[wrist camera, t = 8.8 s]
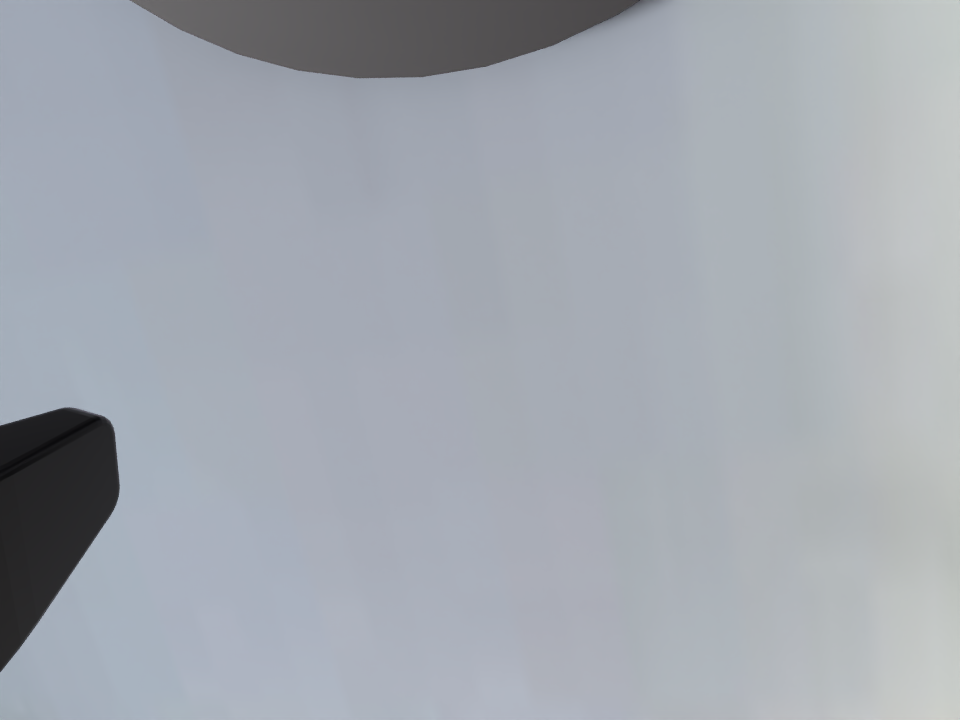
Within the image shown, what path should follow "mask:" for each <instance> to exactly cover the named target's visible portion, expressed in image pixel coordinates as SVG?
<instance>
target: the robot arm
mask: <svg viewBox="0 0 960 720" xmlns="http://www.w3.org/2000/svg"><path fill="white" fill-rule="evenodd" d="M119 489H120V484H119V473H118V463H117V452H116V442H115V432H114V428H113V426H112V424H111V422H110V421H109V420H108V419H107V418H105V417H104V416H101V415H97V414H94V413H90V412H87V411H84V410H80V409H77V408H70V407H69V408H61V409H57V410H54V411H50V412H47V413H43V414H40V415H36V416H33V417H29V418H26V419H22V420H19V421H15V422H11V423H8V424H4V425H1V426H0V672H1V671H2V670H3V668H4V667H5V666H6V665H7V663H8V662H9V661H10V660H11V658H12V657H13V656H14V654H15V653H16V652H17V651H18V649H19V648H20V647H21V646H22V644H23V643H24V642H25V640H26V639H27V637H28V636H29V635H30V633H31V632H32V630H33V629H34V628H35V626H36V625H37V624H38V622H39V621H40V619H41V618H42V616H43V615H44V613H45V612H46V610H47V609H48V607H49V606H50V604H51V603H52V601H53V600H54V598H55V597H56V595H57V594H58V592H59V591H60V590H61V588H62V587H63V585H64V584H65V582H66V581H67V579H68V578H69V576H70V575H71V573H72V572H73V570H74V569H75V567H76V566H77V564H78V563H79V561H80V560H81V558H82V557H83V555H84V554H85V552H86V551H87V550H88V548H89V547H90V545H91V544H92V542H93V541H94V539H95V538H96V536H97V535H98V533H99V532H100V530H101V529H102V527H103V526H104V524H105V523H106V521H107V520H108V518H109V517H110V515H111V514H112V512H113V510H114V508H115V506H116V503H117V500H118V497H119Z"/></svg>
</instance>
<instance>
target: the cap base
mask: <svg viewBox="0 0 960 720" xmlns="http://www.w3.org/2000/svg"><path fill="white" fill-rule="evenodd" d="M130 1H132V2H134V3H135V4H137V5H139V6H141V7H142V8H144V9H146V10H147V11H149V12H151V13H153V14H154V15H156V16H158V17H160V18H161V19H163V20H165V21H166V22H168V23H170V24H172V25H173V26H175V27H177V28H178V29H180V30H182V31H185V32H187V33H189V34H192V35H194V36H197V37H199V38H201V39H204V40H206V41H208V42H211V43H213V44H215V45H218V46H220V47H222V48H225V49H227V50H230V51H232V52H234V53H237V54H239V55H243V56H247V57H250V58H254V59H258V60H261V61H265V62H269V63H272V64H276V65H280V66H283V67H287V68H291V69H294V70H299V71H307V72H315V73H322V74H330V75H338V76H346V77H354V78H393V77H425V76H431V75H437V74H443V73H449V72H455V71H461V70H467V69H473V68H480V67H486V66H489V65H492V64H495V63H499V62H502V61H505V60H508V59H511V58H514V57H518V56H521V55H524V54H527V53H530V52H533V51H537V50H540V49H543V48H546V47H549V46H552V45H554V44H557V43H559V42H561V41H563V40H565V39H567V38H569V37H571V36H573V35H575V34H578V33H580V32H582V31H584V30H586V29H588V28H590V27H592V26H594V25H597V24H599V23H601V22H603V21H605V20H607V19H609V18H611V17H613V16H616V15H618V14H619V13H621V12H623V11H624V10H626V9H627V8H629V7H630V6H632V5H633V4H635V3H636V2H638V1H640V0H130Z"/></svg>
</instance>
